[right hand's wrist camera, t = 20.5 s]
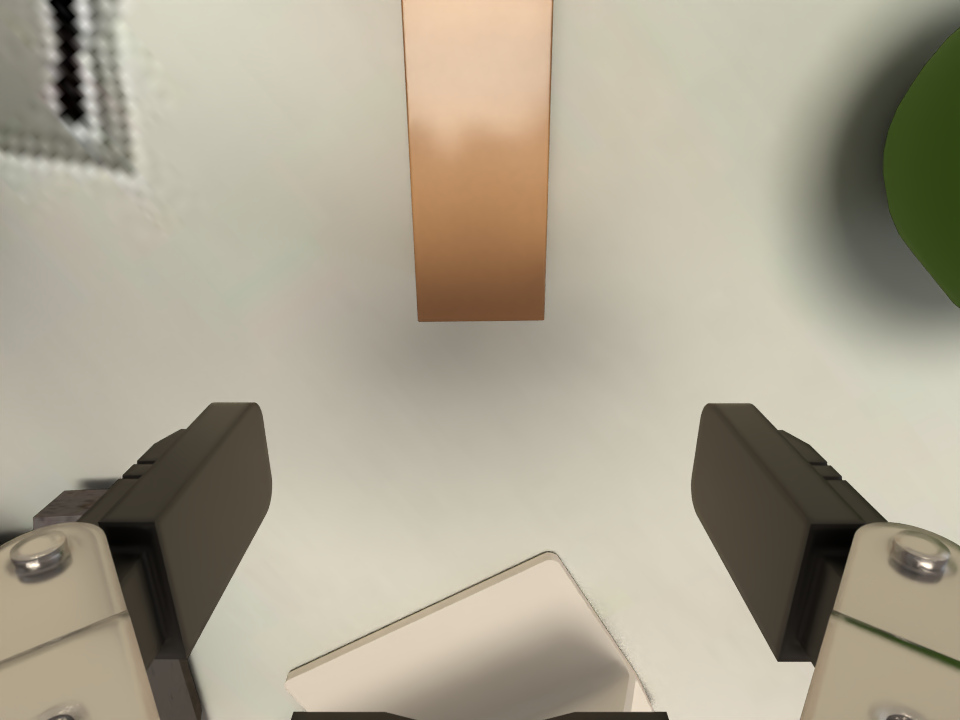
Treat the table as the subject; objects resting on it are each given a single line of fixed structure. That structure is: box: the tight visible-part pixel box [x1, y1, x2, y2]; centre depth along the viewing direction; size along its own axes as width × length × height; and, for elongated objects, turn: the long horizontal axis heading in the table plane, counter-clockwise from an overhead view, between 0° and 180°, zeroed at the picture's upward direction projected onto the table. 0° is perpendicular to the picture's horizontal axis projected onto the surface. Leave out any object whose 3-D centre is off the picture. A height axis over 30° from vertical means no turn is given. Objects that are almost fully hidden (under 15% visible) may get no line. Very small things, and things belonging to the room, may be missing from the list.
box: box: [401, 0, 553, 322], centre depth 29 cm, size 23×6×9 cm, turn 1°
